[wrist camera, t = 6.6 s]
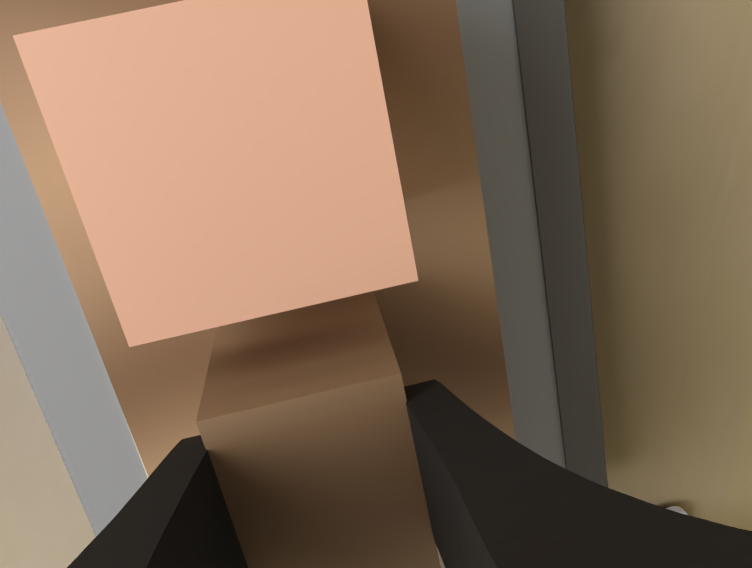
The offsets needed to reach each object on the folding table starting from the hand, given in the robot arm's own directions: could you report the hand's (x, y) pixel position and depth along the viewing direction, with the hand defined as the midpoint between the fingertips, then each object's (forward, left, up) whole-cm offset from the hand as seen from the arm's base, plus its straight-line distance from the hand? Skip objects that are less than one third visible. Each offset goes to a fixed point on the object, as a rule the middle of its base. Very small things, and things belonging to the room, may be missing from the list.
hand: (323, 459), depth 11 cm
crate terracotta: (+5, 0, -3) cm, 6 cm away
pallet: (0, 0, -5) cm, 5 cm away
